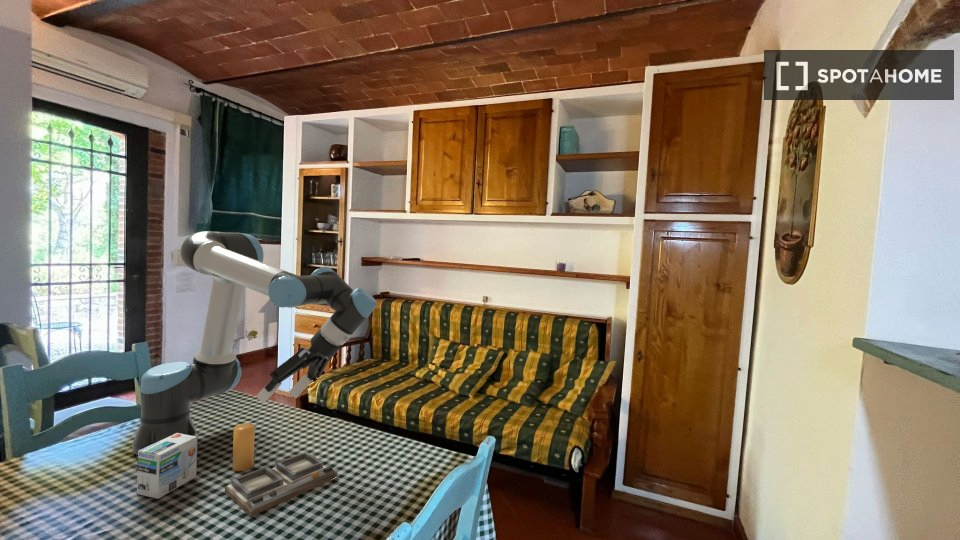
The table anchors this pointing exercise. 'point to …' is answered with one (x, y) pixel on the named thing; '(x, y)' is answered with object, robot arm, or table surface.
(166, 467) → the light bulb box
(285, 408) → the table surface
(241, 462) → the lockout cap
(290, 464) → the board
